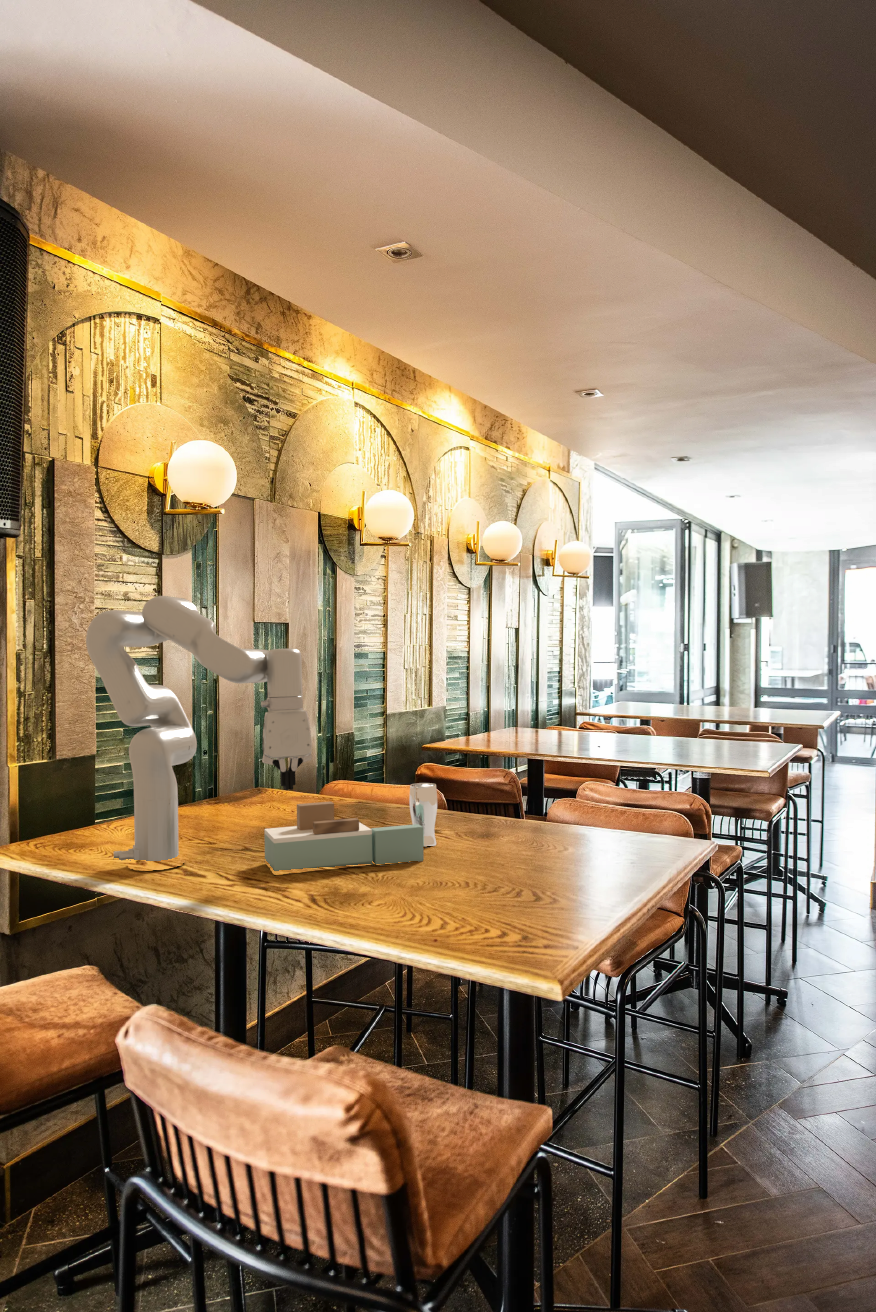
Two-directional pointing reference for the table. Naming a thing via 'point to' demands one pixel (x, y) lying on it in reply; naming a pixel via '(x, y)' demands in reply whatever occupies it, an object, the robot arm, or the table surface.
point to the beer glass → (424, 809)
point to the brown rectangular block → (336, 826)
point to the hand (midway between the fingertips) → (288, 789)
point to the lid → (311, 825)
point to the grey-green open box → (349, 849)
